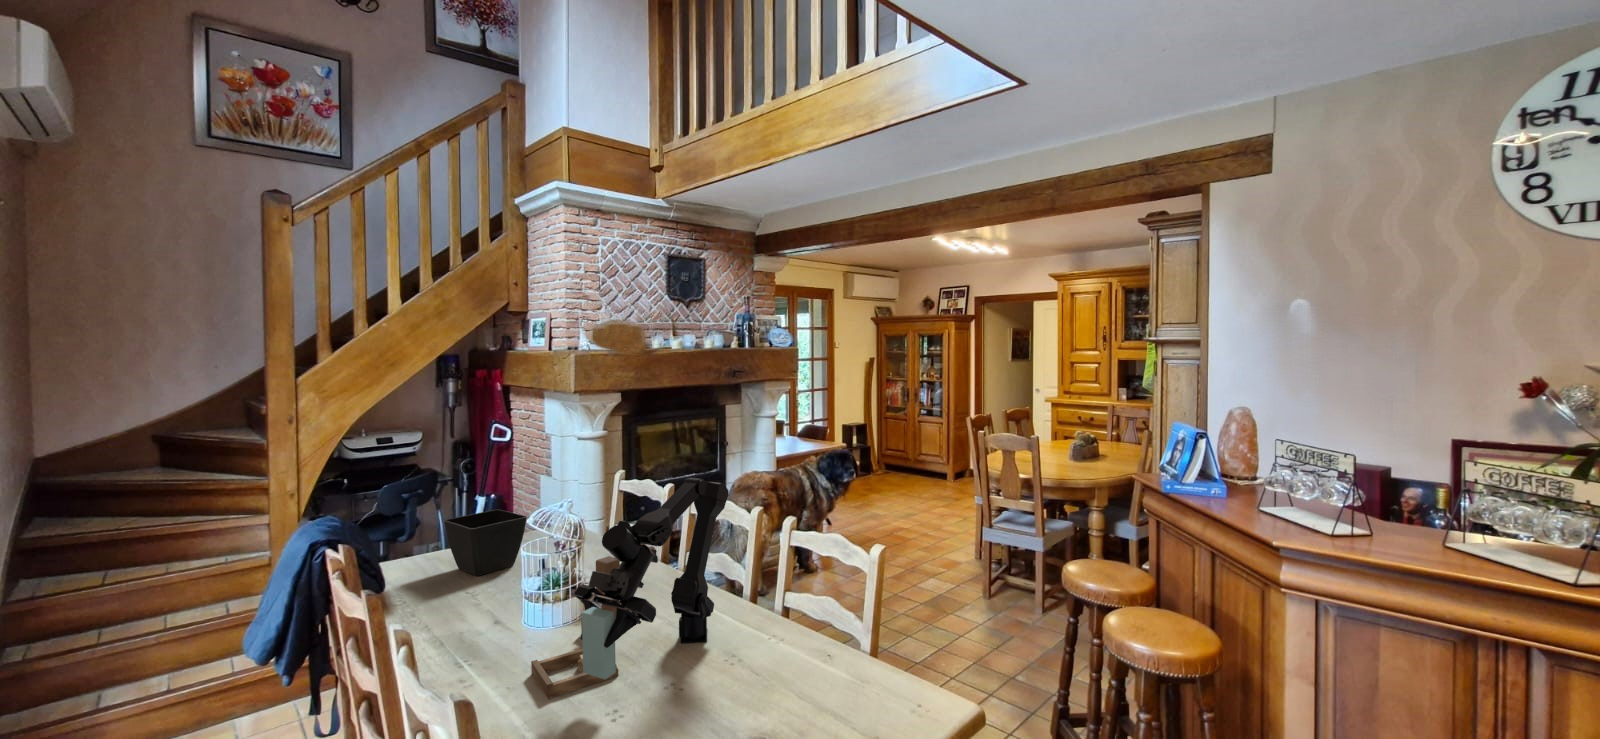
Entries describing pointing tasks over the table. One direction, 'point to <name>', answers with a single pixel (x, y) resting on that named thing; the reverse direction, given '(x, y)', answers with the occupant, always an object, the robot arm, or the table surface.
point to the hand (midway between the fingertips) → (593, 643)
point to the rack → (565, 684)
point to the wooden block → (605, 567)
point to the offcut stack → (580, 663)
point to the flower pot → (485, 540)
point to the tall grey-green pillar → (597, 643)
